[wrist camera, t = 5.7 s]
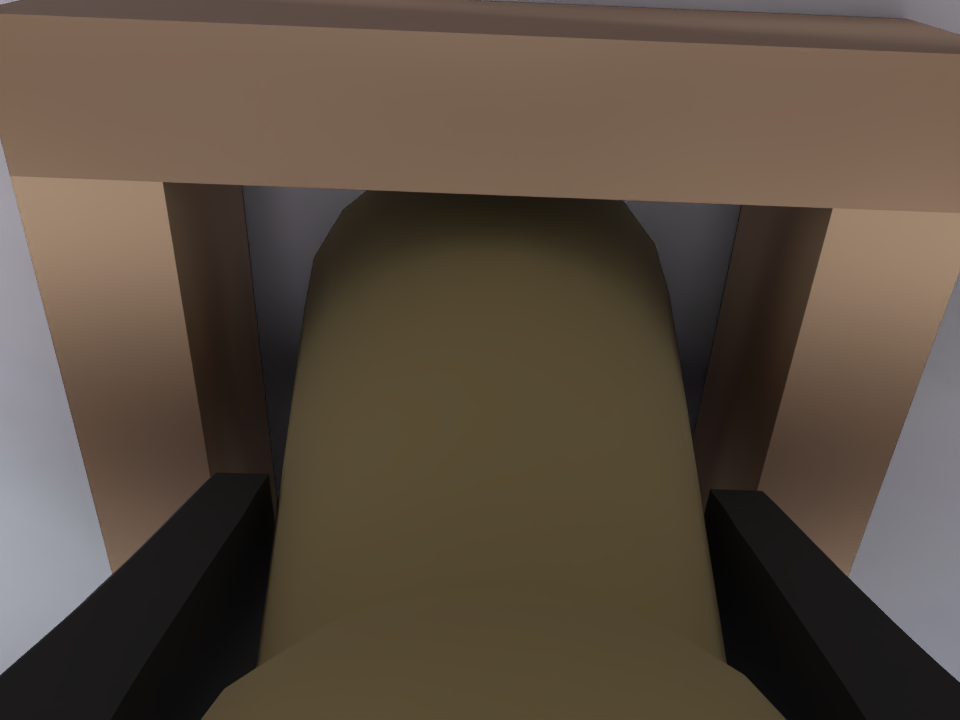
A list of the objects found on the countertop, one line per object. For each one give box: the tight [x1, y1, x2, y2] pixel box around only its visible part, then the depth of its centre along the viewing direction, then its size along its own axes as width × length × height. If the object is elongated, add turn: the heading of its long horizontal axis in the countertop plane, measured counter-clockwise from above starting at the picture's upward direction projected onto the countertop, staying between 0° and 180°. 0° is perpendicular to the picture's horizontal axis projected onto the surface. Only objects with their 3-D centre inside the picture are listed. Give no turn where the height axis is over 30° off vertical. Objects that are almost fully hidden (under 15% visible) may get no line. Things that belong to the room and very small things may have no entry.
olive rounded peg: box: [201, 190, 786, 720], centre depth 9 cm, size 6×6×11 cm
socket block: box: [0, 0, 960, 577], centre depth 12 cm, size 11×11×3 cm
